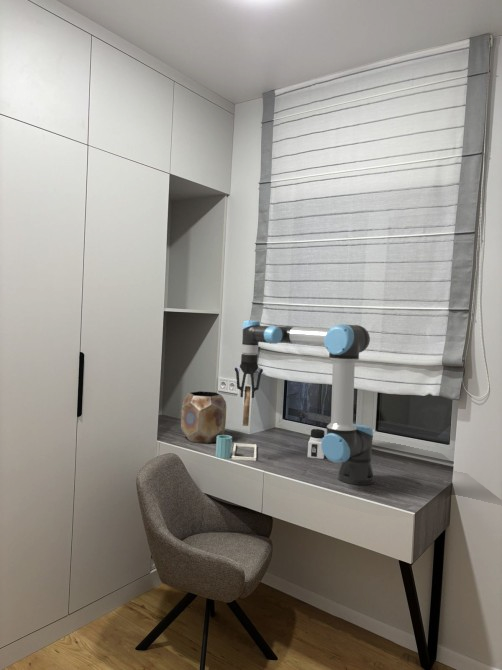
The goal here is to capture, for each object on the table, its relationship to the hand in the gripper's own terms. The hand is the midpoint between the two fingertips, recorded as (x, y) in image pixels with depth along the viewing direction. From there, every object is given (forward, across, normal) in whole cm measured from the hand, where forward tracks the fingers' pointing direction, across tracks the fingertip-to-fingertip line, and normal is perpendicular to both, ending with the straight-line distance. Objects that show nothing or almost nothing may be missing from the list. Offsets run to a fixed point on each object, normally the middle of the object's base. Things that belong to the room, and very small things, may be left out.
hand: (246, 404), depth 238 cm
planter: (+25, +22, -30) cm, 45 cm away
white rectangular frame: (+25, 0, -5) cm, 25 cm away
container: (+25, -35, -10) cm, 44 cm away
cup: (+25, +9, +3) cm, 27 cm away
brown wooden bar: (+10, 0, +1) cm, 10 cm away
